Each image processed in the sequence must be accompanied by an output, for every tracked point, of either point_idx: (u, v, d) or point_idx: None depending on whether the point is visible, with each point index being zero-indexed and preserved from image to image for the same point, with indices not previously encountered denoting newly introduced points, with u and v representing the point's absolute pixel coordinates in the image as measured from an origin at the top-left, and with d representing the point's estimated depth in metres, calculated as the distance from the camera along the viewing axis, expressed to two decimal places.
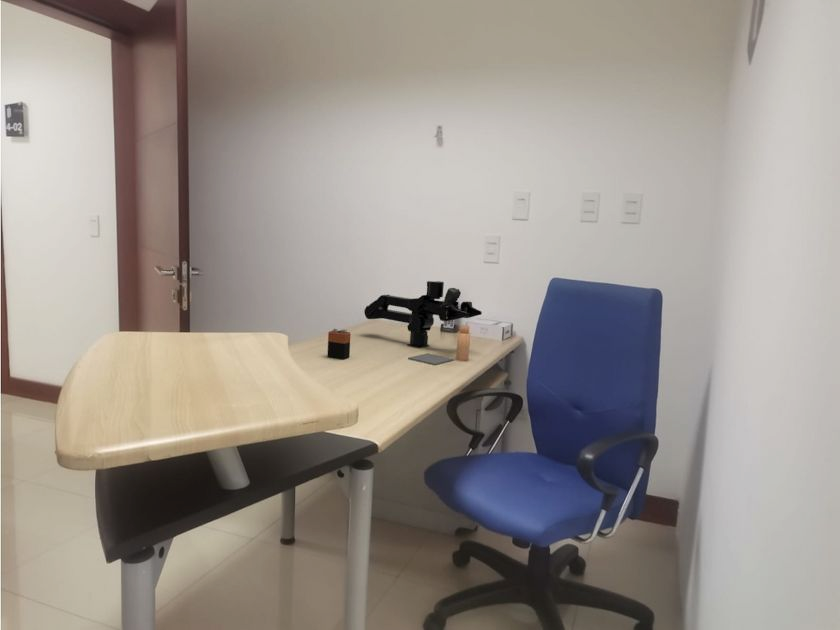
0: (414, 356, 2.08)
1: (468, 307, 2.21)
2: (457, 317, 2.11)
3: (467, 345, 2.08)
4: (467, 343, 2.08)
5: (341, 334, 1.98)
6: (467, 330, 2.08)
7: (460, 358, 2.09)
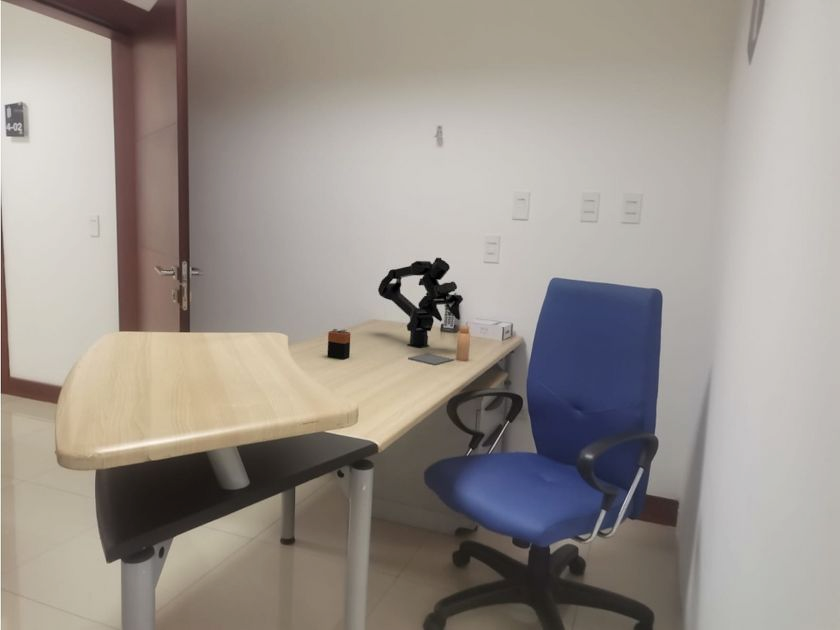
0: (414, 356, 2.08)
1: (454, 304, 2.20)
2: (432, 314, 2.14)
3: (467, 345, 2.08)
4: (467, 343, 2.08)
5: (341, 334, 1.98)
6: (467, 330, 2.08)
7: (460, 358, 2.09)
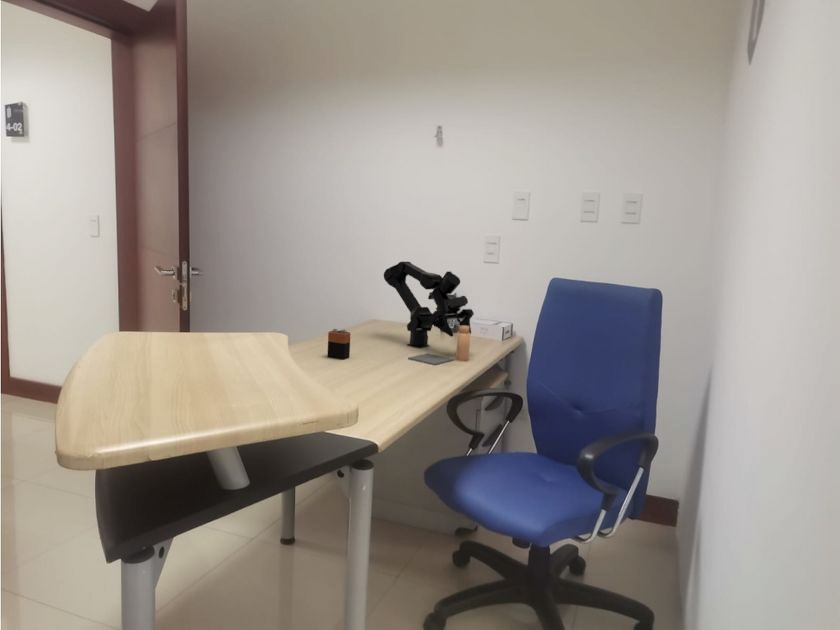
0: (414, 356, 2.08)
1: (465, 318, 2.16)
2: (443, 329, 2.10)
3: (467, 345, 2.08)
4: (467, 343, 2.08)
5: (341, 334, 1.98)
6: (467, 330, 2.08)
7: (460, 358, 2.09)
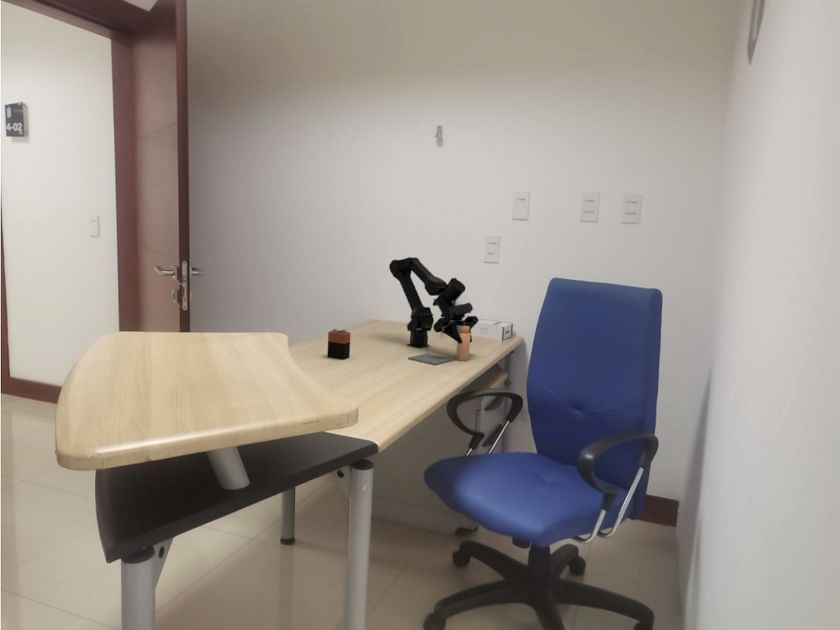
0: (414, 356, 2.08)
1: None
2: (452, 336, 2.09)
3: (467, 345, 2.08)
4: (467, 343, 2.08)
5: (341, 334, 1.98)
6: (467, 330, 2.08)
7: (460, 358, 2.09)
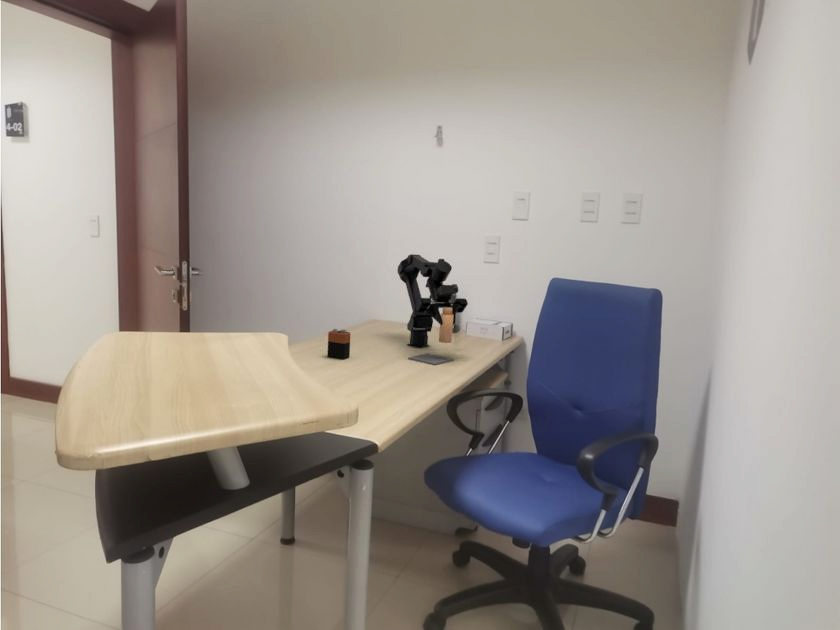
0: (414, 356, 2.08)
1: (452, 308, 2.08)
2: (434, 317, 2.06)
3: (448, 327, 2.04)
4: (448, 325, 2.04)
5: (341, 334, 1.98)
6: (449, 311, 2.04)
7: (441, 340, 2.05)
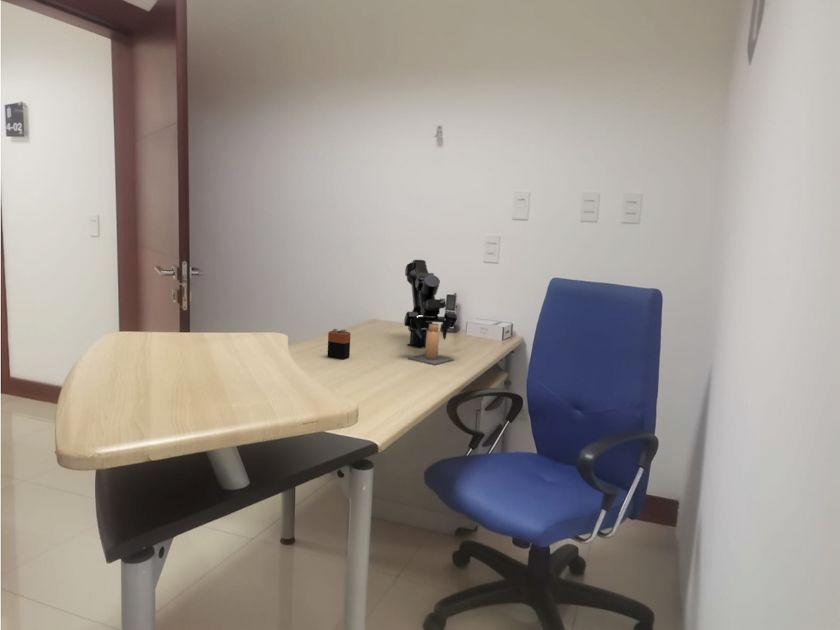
0: (414, 356, 2.08)
1: (444, 322, 2.08)
2: (416, 331, 2.07)
3: (433, 344, 2.04)
4: (433, 342, 2.04)
5: (341, 334, 1.98)
6: (434, 328, 2.04)
7: (426, 356, 2.06)
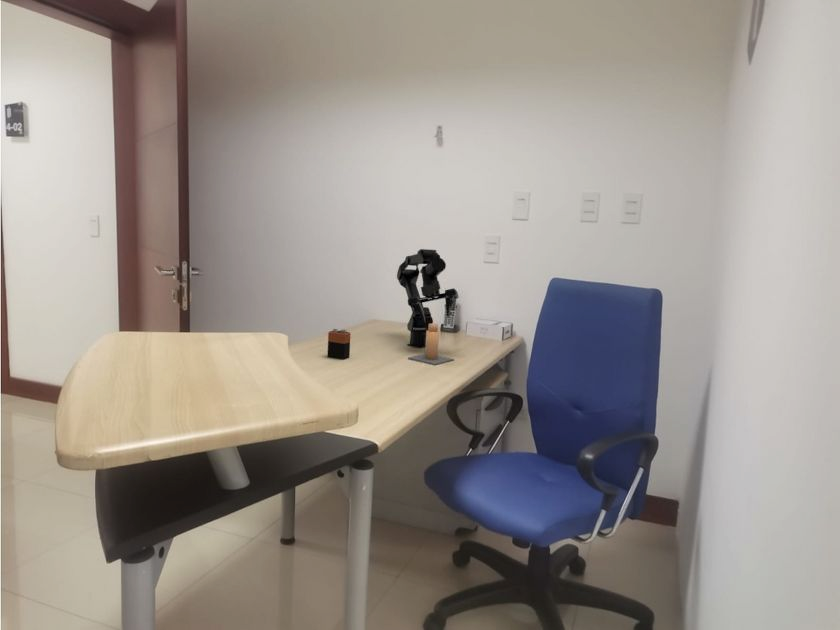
0: (414, 356, 2.08)
1: (446, 300, 2.15)
2: None
3: (432, 344, 2.04)
4: (433, 342, 2.04)
5: (341, 334, 1.98)
6: (434, 328, 2.04)
7: (426, 356, 2.06)
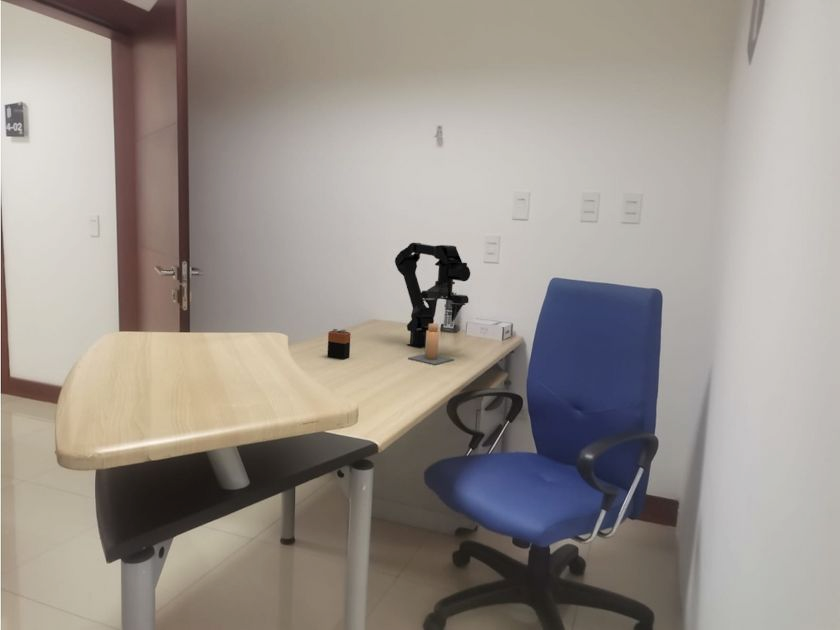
0: (414, 356, 2.08)
1: None
2: None
3: (432, 344, 2.04)
4: (433, 342, 2.04)
5: (341, 334, 1.98)
6: (434, 328, 2.04)
7: (426, 356, 2.06)
